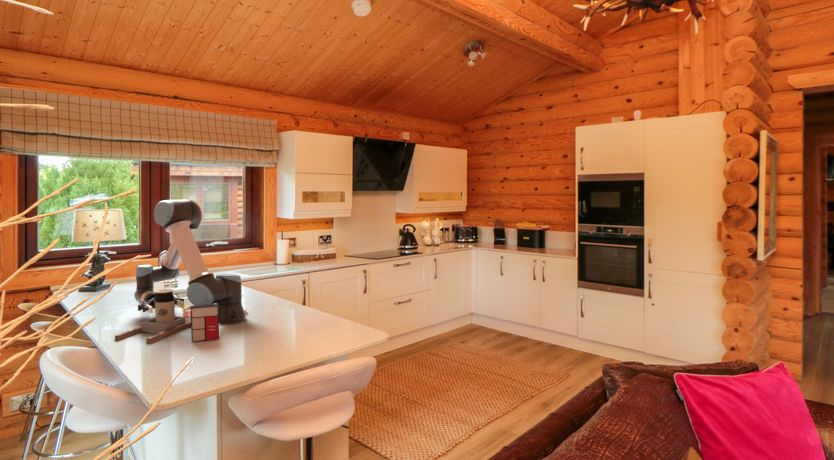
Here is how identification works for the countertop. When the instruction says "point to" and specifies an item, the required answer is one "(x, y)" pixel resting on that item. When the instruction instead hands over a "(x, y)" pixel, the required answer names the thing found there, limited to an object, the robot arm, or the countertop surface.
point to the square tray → (160, 325)
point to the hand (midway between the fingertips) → (167, 307)
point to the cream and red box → (204, 322)
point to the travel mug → (164, 306)
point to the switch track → (154, 337)
